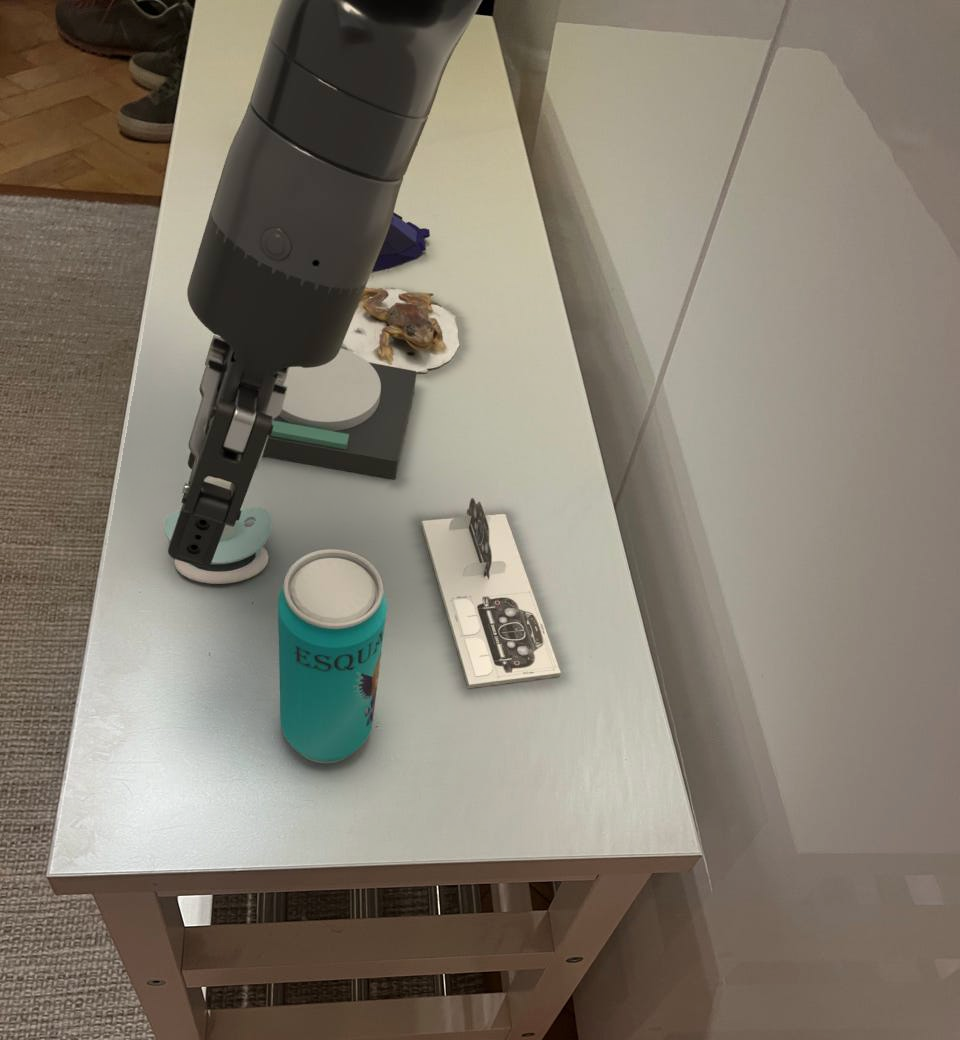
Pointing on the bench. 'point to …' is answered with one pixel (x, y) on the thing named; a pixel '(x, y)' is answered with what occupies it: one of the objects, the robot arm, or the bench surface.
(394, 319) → the frog figurine
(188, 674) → the bench surface
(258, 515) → the pacifier
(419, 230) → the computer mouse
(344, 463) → the scale
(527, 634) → the car cutout
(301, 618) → the beverage can
